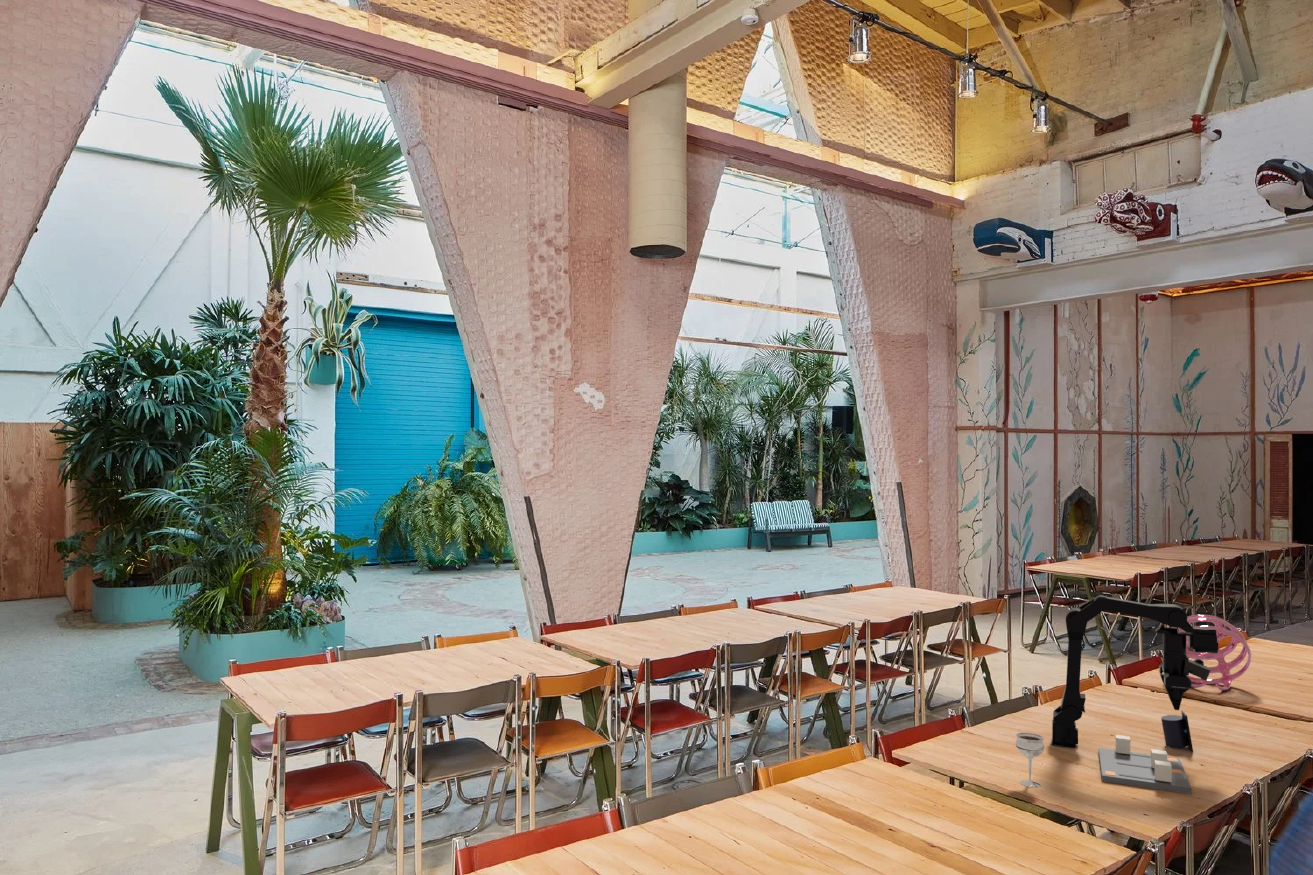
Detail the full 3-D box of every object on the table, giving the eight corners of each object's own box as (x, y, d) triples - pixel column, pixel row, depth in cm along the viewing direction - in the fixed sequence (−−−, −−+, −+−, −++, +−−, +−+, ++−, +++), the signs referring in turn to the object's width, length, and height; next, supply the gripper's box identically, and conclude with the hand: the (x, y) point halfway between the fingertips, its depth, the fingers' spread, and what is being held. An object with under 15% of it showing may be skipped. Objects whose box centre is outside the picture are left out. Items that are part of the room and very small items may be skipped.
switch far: (1116, 752, 247) (1116, 737, 247) (1115, 748, 250) (1115, 734, 250) (1130, 754, 246) (1130, 739, 246) (1129, 750, 249) (1129, 736, 249)
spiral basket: (1247, 647, 308) (1234, 594, 329) (1158, 656, 323) (1150, 605, 344) (1265, 703, 318) (1251, 649, 339) (1178, 710, 333) (1169, 657, 354)
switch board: (1102, 781, 230) (1102, 774, 230) (1098, 752, 253) (1098, 747, 253) (1191, 793, 222) (1191, 787, 222) (1179, 763, 244) (1179, 757, 244)
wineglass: (1031, 790, 223) (1031, 742, 223) (1009, 781, 229) (1009, 734, 229) (1050, 785, 226) (1050, 738, 226) (1028, 777, 232) (1028, 731, 233)
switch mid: (1152, 767, 235) (1152, 752, 235) (1151, 763, 238) (1151, 748, 238) (1167, 769, 233) (1167, 754, 233) (1166, 765, 236) (1165, 750, 237)
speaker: (1196, 746, 259) (1191, 710, 260) (1193, 752, 255) (1188, 715, 255) (1167, 743, 264) (1162, 708, 264) (1163, 749, 259) (1158, 713, 260)
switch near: (1155, 779, 226) (1155, 764, 226) (1154, 775, 229) (1154, 759, 229) (1171, 782, 224) (1171, 766, 224) (1170, 777, 227) (1170, 762, 228)
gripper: (1213, 659, 238) (1213, 718, 237) (1203, 646, 255) (1203, 701, 254) (1165, 655, 242) (1165, 712, 242) (1158, 643, 259) (1159, 696, 259)
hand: (1174, 705), depth 249 cm, fingers open, 9 cm apart
